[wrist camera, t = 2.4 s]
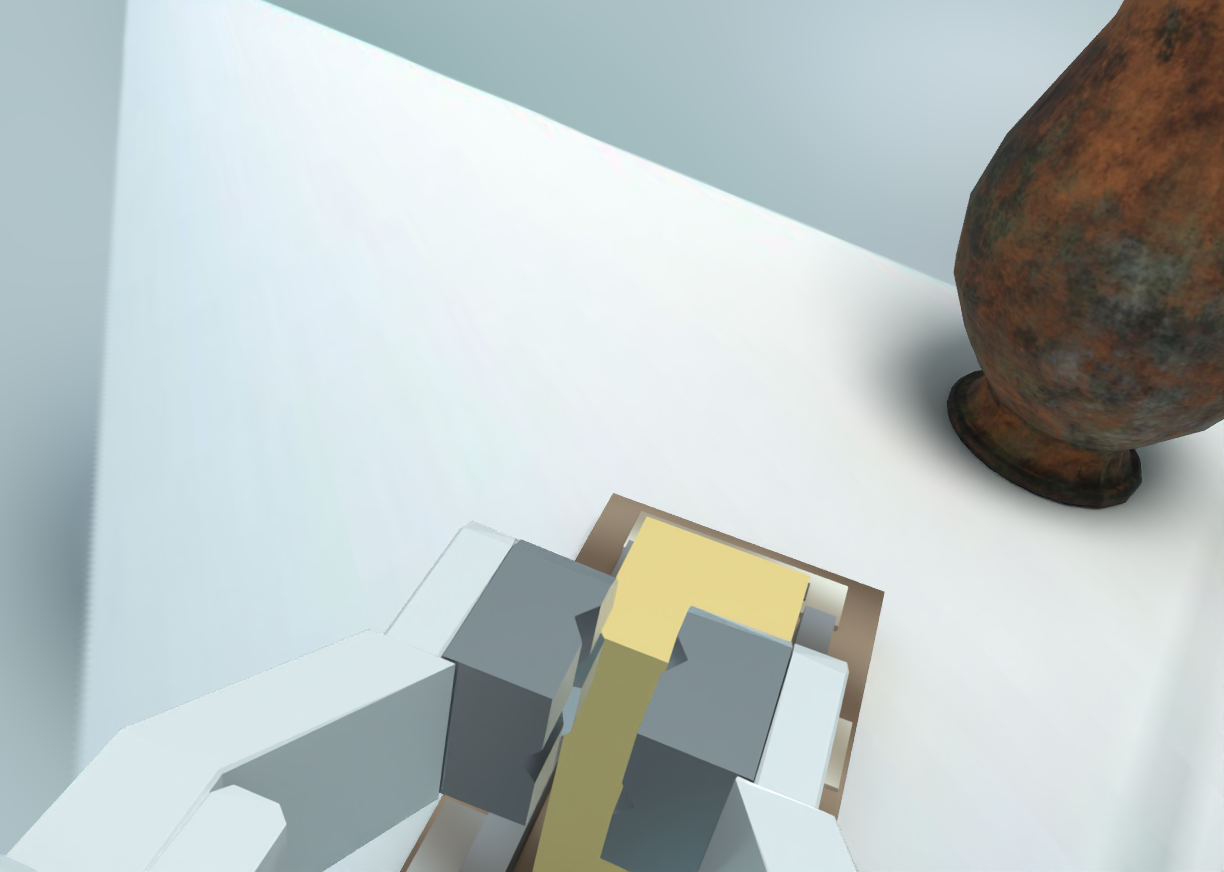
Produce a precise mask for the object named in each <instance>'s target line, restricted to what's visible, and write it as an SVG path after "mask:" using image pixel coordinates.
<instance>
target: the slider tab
mask: <svg viewBox="0 0 1224 872" xmlns="http://www.w3.org/2000/svg"><path fill="white" fill-rule="evenodd" d="M616 578H617V580H618V586H617V591H616V596H615V600H614V605H613V608H612V610H611V612H610V614H609V616H608V619H607V621H606V623H605V625H604V627H603V629H602V631H601V633H602V635H603V637H604V639H605V641H604V645H603V649H602V652H601V656H600V659H599V663H598V666H597V669H596V672H595V675H594V678H593V681H592V683H591V686H590V688H589V691H588V693H587V696H586V698H585V701H584V703H583V706H582V708H581V710H580V713H579V715H578V717H577V719H576V721H575V723H574V726H573V728H572V730H571V732H569V733H567V734H565V735H564V738H563V742H562V746H561V751H560V755H559V759H558V764H557V768H556V772H555V777H554V781H553V785H552V789H551V794H550V798H549V802H548V807H547V811H546V815H545V819H544V824H543V828H542V832H541V837H540V841H539V845H538V850H537V854H536V858H535V862H534V867H533V871H532V872H630V871H627V870H625V869H623V868H621V867H619V866H616V865H614V864H612V863H610V862H608V861H605V860H603V859H601V858H600V856H601V853H602V849H603V846H604V842H605V838H606V835H607V831H608V828H609V824H610V821H611V817H612V814H613V811H614V809H615V806H616V804H617V801H618V799H619V796H620V794H621V791H622V789H623V784H622V780H623V777H624V774H625V771H626V768H627V765H628V761H629V758H630V755H631V752H632V749H633V745H634V742H635V739H636V736H637V733H638V730H639V728H640V725H641V723H642V720H643V718H644V715H645V713H646V710H647V708H648V706H649V703H650V701H651V698H652V696H653V693H654V691H655V688H656V686H657V683H658V681H659V678H660V676H661V673H663V672H665V671H666V669H667V666H668V663H669V659H670V656H671V653H672V650H673V647H674V644H675V641H676V638H677V635H678V632H679V630H680V628H681V625H682V623H683V621H684V618H685V616H686V614H687V611H688V610H689V608H690V606H694V607H697V608H700V609H702V610H705V611H708V612H710V613H713V614H716V615H719V616H721V617H724V618H727V619H729V620H732V621H735V622H738V623H740V624H743V625H746V626H749V627H751V628H754V629H757V630H759V631H762V632H765V633H768V634H770V635H773V636H776V637H778V638H781V639H784V640H787V641H789V642H791V640H792V637H793V633H794V630H795V627H796V623H797V620H798V616H799V613H800V610H801V606H802V603H803V599H804V596H805V593H806V589H807V586H808V582H809V579H810V576H809V575H806V574H803V573H801V572H798V571H795V570H792V569H790V568H787V567H784V566H781V565H779V564H776V563H773V562H771V561H768V560H765V559H762V558H760V557H757V556H754V555H751V554H749V553H746V552H743V551H740V550H738V549H735V548H732V547H730V546H727V545H724V544H721V543H719V542H716V541H713V540H710V539H708V538H705V537H702V536H699V535H697V534H694V533H691V532H689V531H686V530H683V529H680V528H678V527H675V526H672V525H669V524H667V523H664V522H661V521H658V520H656V519H653V518H650V517H648V516H647V517H646V519H645V521H644V523H643V525H642V527H641V529H640V531H639V533H638V535H637V537H636V539H635V541H634V543H633V545H632V547H631V549H630V550H629V552H628V554H627V556H626V558H625V560H624V562H623V564H622V566H621V568H620V570H619V572H618V574H617V576H616Z"/></svg>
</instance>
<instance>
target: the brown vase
mask: <svg viewBox="0 0 1224 872" xmlns="http://www.w3.org/2000/svg"><path fill="white" fill-rule="evenodd" d="M954 276H955V281H956V286H957V291H958V296H959V301H960V306H961V311H962V316H963V321H964V326H965V329H966V332H967V334H968V337H969V340H970V342H971V345H972V347H973V349H974V352H975V354H976V357H977V360H978V362H979V365H980V367H981V369H982V370H981V371H975V372H973V373H971V374H968V375H966V376H964V377H962V378H961V379H959V380H958V381H957V382H956V383H955V384H954V385H953V387H952V388H951V391H950V394H949V398H948V401H947V407H948V415H949V417H950V420H951V423H952V425H953V427H954V429H955V430H956V432H957V433H958V435H959V437H960V438H961V440H962V441H963V442H964V443H965V444H966V445H967V446H968V448H969V449H970V450H971V451H972V452H973V453H974V454H975V455H976V456H977V457H978V458H979V459H981V460H982V461H983V462H984V463H985V464H986V465H988V466H989V467H990V468H991V469H992V470H994V471H995V472H997V473H999V474H1000V475H1002V476H1003V477H1005V478H1006V479H1008V480H1009V481H1011V482H1012V483H1014V484H1017V485H1019V486H1021V487H1023V488H1025V489H1027V490H1029V491H1031V492H1033V493H1035V494H1037V495H1041V496H1044V497H1047V498H1050V499H1053V500H1056V501H1060V502H1063V503H1068V504H1076V505H1085V506H1092V507H1105V506H1109V505H1114V504H1119V503H1123V502H1126V501H1127V500H1128V499H1129V497H1130V496H1131V495H1132V494H1133V493H1134V492H1135V490H1136V489H1137V488H1138V487H1139V485H1140V484H1141V482H1142V478H1141V462H1140V459H1139V457H1138V455H1137V453H1136V451H1135V449H1136V448H1140V447H1144V446H1147V445H1151V444H1155V443H1159V442H1163V441H1166V440H1170V439H1174V438H1178V437H1181V436H1185V435H1189V434H1193V433H1197V432H1200V431H1204V430H1206V429H1208V428H1209V427H1211V426H1213V425H1214V424H1216V423H1218V422H1219V421H1221V420H1223V419H1224V0H1124V1H1123V3H1122V5H1121V7H1120V9H1119V10H1118V12H1117V14H1116V15H1115V16H1114V17H1113V18H1112V20H1111V21H1110V22H1109V23H1108V24H1107V25H1106V26H1105V27H1104V28H1103V29H1102V30H1101V32H1100V33H1099V34H1098V35H1097V36H1096V37H1095V38H1094V39H1093V40H1092V41H1091V42H1090V44H1089V45H1088V46H1087V47H1086V48H1085V49H1084V50H1083V51H1082V52H1081V53H1080V55H1079V56H1078V57H1077V58H1076V59H1075V60H1074V61H1073V62H1072V63H1071V64H1070V65H1069V66H1068V68H1067V69H1066V70H1065V71H1064V72H1063V73H1062V74H1061V75H1060V76H1059V77H1058V78H1057V80H1056V81H1055V82H1054V83H1053V84H1052V85H1051V86H1050V87H1049V88H1048V89H1047V91H1046V92H1045V93H1044V94H1043V95H1042V96H1041V97H1040V98H1039V99H1038V101H1037V102H1036V103H1035V104H1034V105H1033V106H1032V107H1031V108H1030V109H1029V110H1028V111H1027V112H1026V114H1025V115H1024V116H1023V117H1022V118H1021V119H1020V120H1019V121H1018V122H1017V123H1016V124H1015V126H1014V127H1013V128H1012V129H1011V130H1010V131H1009V132H1008V133H1007V135H1006V136H1005V138H1004V140H1003V141H1002V143H1001V145H1000V146H999V148H998V149H997V151H996V153H995V155H994V156H993V158H992V159H991V161H990V163H989V164H988V166H987V167H986V169H985V171H984V173H983V174H982V176H981V177H980V179H979V181H978V182H977V184H976V186H975V188H974V189H973V191H972V192H971V194H970V199H969V203H968V207H967V211H966V215H965V219H964V223H963V228H962V232H961V236H960V240H959V244H958V249H957V253H956V260H955V267H954Z"/></svg>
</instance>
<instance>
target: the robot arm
mask: <svg viewBox="0 0 1224 872" xmlns="http://www.w3.org/2000/svg"><path fill="white" fill-rule="evenodd" d="M617 586H618V580H617V578H615V577H613V576H610V575H608V574H605V573H603V572H600V571H598V570H595V569H593V568H590V567H588V566H585V565H583V564H580V563H578V562H576V561H573V560H571V559H568V558H566V557H563V556H561V555H558V554H556V553H553V552H551V551H548V550H546V549H544V548H541V547H539V546H536V545H534V544H531V543H529V542H526V541H524V540H518V539H516V538H513V537H511V536H509V535H506V534H504V533H501V532H499V531H496V530H494V529H492V528H489V527H487V526H484V525H482V524H479V523H477V522H474V521H471V522H470V523H468V524H467V525H465V526H464V527H462V528H461V529H460V530H459V531H458V532H457V534H456V535H455V537H454V538H453V539H452V541H451V542H450V543H449V545H448V546H447V548H446V549H445V550H444V552H443V553H442V555H441V556H440V557H439V559H438V560H437V561H436V563H435V564H434V566H433V567H432V568H431V570H430V571H429V572H428V574H427V575H426V577H425V578H424V579H423V581H422V582H421V584H420V585H419V586H418V588H417V589H416V590H415V592H414V593H413V595H412V596H411V597H410V599H409V600H408V602H407V603H406V604H405V606H404V607H403V608H402V610H401V611H400V613H399V614H398V615H397V617H396V618H395V619H394V621H393V622H392V624H391V625H390V626H389V628H388V629H387V631H386V632H385V633H384V634H381V633H378V632H376V631H373V630H370V629H368V630H366V631H363V632H361V633H358V634H356V635H353V636H351V637H348V638H346V639H343V640H341V641H338V642H336V643H333V644H331V645H328V646H326V647H323V648H321V649H318V650H316V651H313V652H311V653H309V654H306V655H304V656H301V657H299V658H296V659H294V660H291V661H289V662H286V663H284V664H281V665H279V666H276V667H274V668H271V669H269V670H266V671H264V672H261V673H259V674H257V675H254V676H252V677H249V678H247V679H244V680H242V681H239V682H237V683H234V684H232V685H229V686H227V687H224V688H222V689H219V690H217V691H214V692H212V693H209V694H207V695H204V696H202V697H200V698H197V699H195V700H192V701H190V702H187V703H185V704H182V705H180V706H177V707H175V708H172V709H170V710H167V711H165V712H162V713H160V714H157V715H155V716H152V717H150V718H148V719H145V720H143V721H140V722H138V723H135V724H133V725H130V726H128V727H125V728H123V729H121V730H120V731H119V732H118V733H117V734H116V735H115V736H114V737H113V739H112V740H111V741H110V742H109V743H108V744H107V745H106V746H105V747H104V748H103V749H102V751H101V752H100V753H99V754H98V755H97V756H96V757H95V758H94V759H93V760H92V762H91V763H90V764H89V765H88V766H87V767H86V768H85V769H84V770H83V771H82V772H81V774H80V775H79V776H78V777H77V778H76V779H75V780H74V781H73V782H72V783H71V785H70V786H69V787H68V788H67V789H66V790H65V791H64V792H63V794H62V795H61V796H60V797H59V798H58V799H57V800H56V801H55V802H54V803H53V804H52V805H51V806H50V808H49V809H48V810H47V811H46V812H45V813H44V814H43V815H42V816H41V818H40V819H39V820H38V821H37V822H36V823H35V824H34V825H33V826H32V827H31V828H30V829H29V831H28V832H27V833H26V834H25V835H24V836H23V837H22V838H21V839H20V840H19V842H18V843H17V844H16V845H15V846H14V847H13V848H12V849H11V850H10V851H9V853H8V854H7V855H6V856H5V855H2V854H0V872H322V871H324V870H326V869H327V868H329V867H330V866H332V865H334V864H335V863H337V862H338V861H340V860H341V859H343V858H345V857H346V856H348V855H349V854H351V853H352V852H354V851H356V850H357V849H359V848H360V847H362V846H364V845H365V844H367V843H368V842H370V841H371V840H373V839H375V838H376V837H378V836H379V835H381V834H382V833H384V832H386V831H387V830H389V829H390V828H392V827H394V826H395V825H397V824H398V823H400V822H401V821H403V820H405V819H406V818H408V817H409V816H411V815H413V814H414V813H416V812H417V811H419V810H420V809H422V808H424V807H425V806H427V805H428V804H430V803H431V802H433V801H435V800H436V799H438V794H439V793H442V794H444V795H447V796H449V797H452V798H454V799H457V800H459V801H462V802H465V803H467V804H470V805H472V806H475V807H477V808H480V809H482V810H485V811H488V812H490V813H493V814H495V815H498V816H500V817H503V818H505V819H508V820H510V821H513V822H516V823H518V824H521V825H523V826H525V825H526V823H527V821H528V819H529V817H530V815H531V813H532V811H533V809H534V807H535V805H536V803H537V801H538V799H539V797H540V795H541V792H542V790H543V788H544V786H545V784H546V782H547V780H548V778H549V776H550V774H551V772H552V770H553V767H554V763H555V759H556V754H557V750H558V746H559V742H560V738H561V736H563V735H565V734H567V733H569V732H571V730H572V728H573V726H574V723H575V721H576V719H577V717H578V715H579V713H580V710H581V708H582V706H583V703H584V701H585V698H586V696H587V693H588V691H589V688H590V686H591V683H592V681H593V678H594V675H595V672H596V669H597V666H598V663H599V659H600V656H601V652H602V649H603V645H604V641H605V639H604V637H603V635H602V633H601V631H602V629H603V627H604V625H605V623H606V621H607V619H608V616H609V614H610V612H611V610H612V608H613V605H614V600H615V596H616V591H617ZM848 674H849V670H848V665H847V662H844V661H842V660H839V659H836V658H833V657H831V656H828V655H825V654H822V653H820V652H817V651H814V650H811V649H809V648H806V647H803V646H801V645H798V644H794V645H793V646H792V642H789V641H787V640H784V639H781V638H778V637H776V636H773V635H770V634H768V633H765V632H762V631H759V630H757V629H754V628H751V627H749V626H746V625H743V624H740V623H738V622H735V621H732V620H729V619H727V618H724V617H721V616H719V615H716V614H713V613H710V612H708V611H705V610H702V609H700V608H697V607H694V606H690V608H689V610H688V611H687V614H686V616H685V618H684V621H683V623H682V625H681V628H680V630H679V632H678V635H677V638H676V641H675V644H674V647H673V650H672V653H671V656H670V659H669V663H668V666H667V669H666V671H665V672H663V673H661V676H660V678H659V681H658V683H657V686H656V688H655V691H654V693H653V696H652V698H651V701H650V703H649V706H648V708H647V710H646V713H645V715H644V718H643V720H642V723H641V725H640V728H639V730H638V733H637V736H636V739H635V742H634V745H633V749H632V752H631V755H630V758H629V761H628V765H627V768H626V771H625V774H624V777H623V780H622V784H623V789H622V791H621V794H620V796H619V799H618V801H617V804H616V806H615V809H614V811H613V814H612V817H611V821H610V824H609V828H608V831H607V835H606V838H605V842H604V846H603V849H602V853H601V856H600V858H601V859H603V860H605V861H608V862H610V863H612V864H614V865H616V866H619V867H621V868H623V869H625V870H627V871H630V872H858V871H857V869H856V866H855V864H854V862H853V859H852V857H851V854H850V852H849V850H848V847H847V845H846V842H845V840H844V838H843V835H842V833H841V830H840V828H839V825H838V823H837V821H836V818H835V816H833V815H830V814H828V813H826V812H824V811H821V810H819V809H818V808H819V804H820V800H821V795H822V791H823V786H824V782H825V777H826V773H827V768H828V764H829V759H830V755H831V750H832V746H833V741H834V737H835V733H836V728H837V724H838V719H839V715H840V710H841V706H842V701H843V697H844V692H845V688H846V683H847V679H848Z"/></svg>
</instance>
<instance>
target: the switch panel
mask: <svg viewBox="0 0 1224 872" xmlns="http://www.w3.org/2000/svg"><path fill="white" fill-rule="evenodd" d="M647 516H648V517H650V518H653V519H656V520H658V521H661V522H664V523H667V524H669V525H672V526H675V527H678V528H680V529H683V530H686V531H689V532H691V533H694V534H697V535H699V536H702V537H705V538H708V539H710V540H713V541H716V542H719V543H721V544H724V545H727V546H730V547H732V548H735V549H738V550H740V551H743V552H746V553H749V554H751V555H754V556H757V557H760V558H762V559H765V560H768V561H771V562H773V563H776V564H779V565H781V566H784V567H787V568H790V569H792V570H795V571H798V572H801V573H803V574H806V575H809V576H810V579H809V582H808V586H807V589H806V593H805V596H804V599H803V603H802V606H801V610H800V613H799V616H798V620H797V623H796V627H795V630H794V633H793V637H792V640H791V642H792V646H793V645H794V644H798V645H801V646H803V647H806V648H809V649H811V650H814V651H817V652H820V653H822V654H825V655H828V656H831V657H833V658H836V659H839V660H842V661H844V662H847V665H848V670H849V674H848V679H847V683H846V688H845V692H844V697H843V701H842V706H841V710H840V715H839V719H838V724H837V728H836V733H835V737H834V741H833V746H832V750H831V755H830V759H829V764H828V768H827V773H826V777H825V782H824V786H823V791H822V795H821V800H820V804H819V808H818V809H819V810H821V811H824V812H826V813H828V814H830V815H833V816H835V818H836V821H837V818H838V813H839V809H840V804H841V799H842V794H843V789H844V784H845V780H846V775H847V770H848V765H849V760H850V756H851V751H852V746H853V741H854V736H855V732H856V727H857V722H858V717H859V712H860V708H861V703H862V698H863V693H864V688H865V683H866V679H867V674H868V669H869V664H870V659H871V655H872V650H873V645H874V640H875V635H876V631H877V626H878V621H879V616H880V611H881V607H882V602H883V597H884V592H883V591H881V590H878V589H875V588H872V587H870V586H867V585H864V584H861V583H859V582H856V581H853V580H850V579H848V578H845V577H842V576H839V575H837V574H834V573H831V572H828V571H826V570H823V569H820V568H817V567H815V566H812V565H809V564H806V563H804V562H801V561H798V560H796V559H793V558H790V557H787V556H785V555H782V554H779V553H776V552H774V551H771V550H768V549H765V548H763V547H760V546H757V545H754V544H752V543H749V542H746V541H743V540H741V539H738V538H735V537H732V536H730V535H727V534H724V533H721V532H719V531H716V530H713V529H710V528H708V527H705V526H702V525H699V524H697V523H694V522H691V521H688V520H686V519H683V518H680V517H677V516H675V515H672V514H669V513H666V512H664V511H661V510H658V509H655V508H653V507H650V506H647V505H644V504H642V503H639V502H636V501H633V500H631V499H628V498H625V497H623V496H620V495H617V494H614V493H613V494H612V496H611V498H610V500H609V501H608V503H607V505H606V507H605V508H604V510H603V512H602V514H601V516H600V517H599V519H598V521H597V523H596V524H595V526H594V528H593V530H592V532H591V533H590V535H589V537H588V539H587V540H586V542H585V544H584V546H583V548H582V549H581V551H580V553H579V555H578V556H577V558H576V560H575V561H576V562H578V563H580V564H583V565H585V566H588V567H590V568H593V569H595V570H598V571H600V572H603V573H605V574H608V575H610V576H613V577H615V578H616V576H617V574H618V572H619V570H620V568H621V566H622V564H623V562H624V560H625V558H626V556H627V554H628V552H629V550H630V549H631V547H632V545H633V543H634V541H635V539H636V537H637V535H638V533H639V531H640V529H641V527H642V525H643V523H644V521H645V519H646V517H647ZM563 738H564V735H563V736H561V738H560V742H559V746H558V750H557V754H556V759H555V763H554V767H553V770H552V772H551V774H550V776H549V778H548V780H547V782H546V784H545V786H544V788H543V790H542V792H541V795H540V797H539V799H538V801H537V803H536V805H535V807H534V809H533V811H532V813H531V815H530V817H529V819H528V821H527V823H526V825H525V826H523V825H521V824H518V823H516V822H513V821H510V820H508V819H505V818H503V817H500V816H498V815H495V814H493V813H490V812H488V811H485V810H482V809H480V808H477V807H475V806H472V805H470V804H467V803H465V802H462V801H459V800H457V799H454V798H452V797H449V796H447V795H443V796H442V798H441V800H440V802H439V803H438V805H437V807H436V809H435V811H434V812H433V814H432V816H431V818H430V819H429V821H428V823H427V825H426V827H425V828H424V830H423V832H422V834H421V835H420V837H419V839H418V841H417V843H416V844H415V846H414V848H413V850H412V851H411V853H410V855H409V857H408V859H407V860H406V862H405V864H404V866H403V867H402V869H401V871H400V872H532V871H533V867H534V862H535V858H536V854H537V850H538V845H539V841H540V837H541V832H542V828H543V824H544V819H545V815H546V811H547V807H548V802H549V798H550V794H551V789H552V785H553V781H554V777H555V772H556V768H557V764H558V759H559V755H560V751H561V746H562V742H563Z"/></svg>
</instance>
